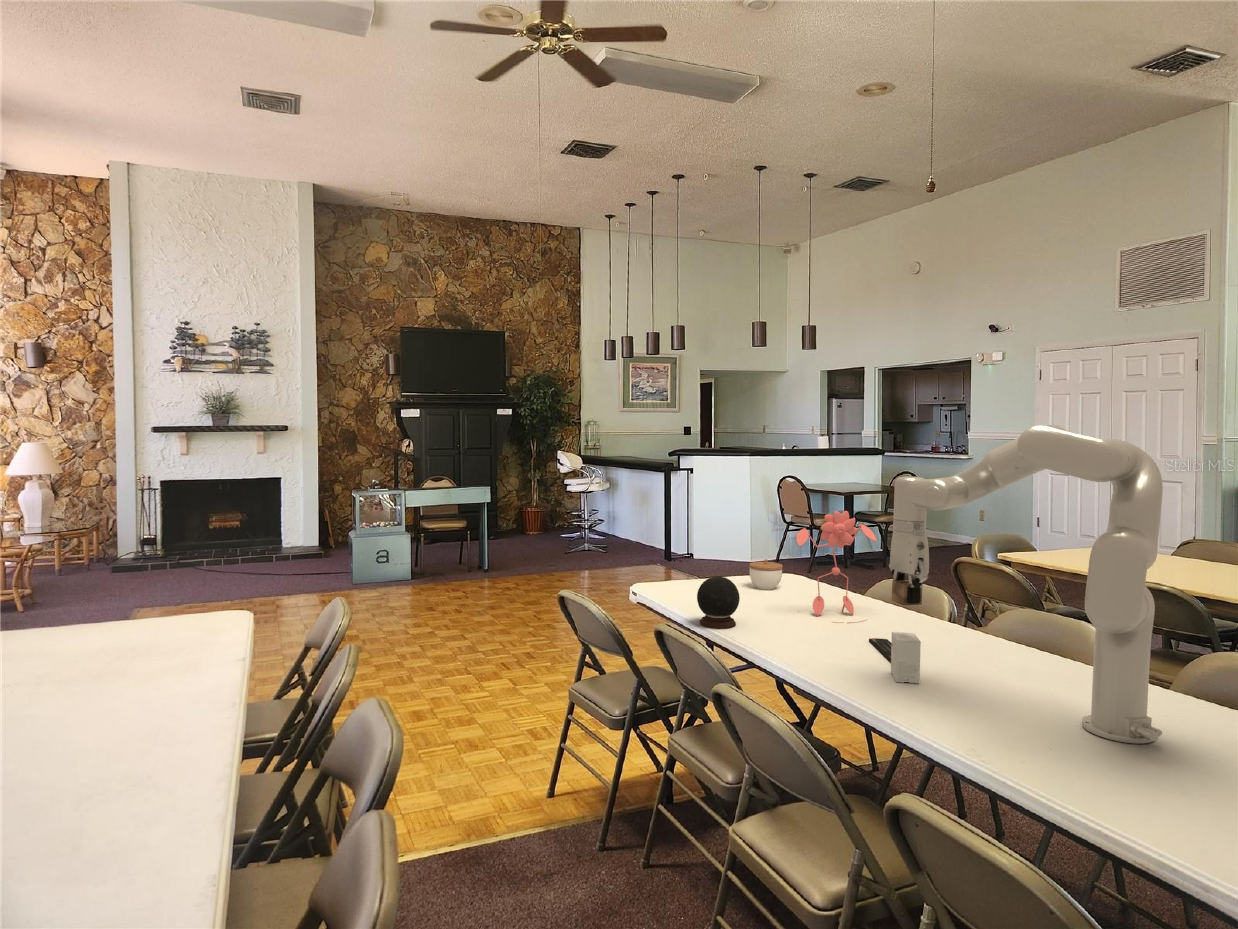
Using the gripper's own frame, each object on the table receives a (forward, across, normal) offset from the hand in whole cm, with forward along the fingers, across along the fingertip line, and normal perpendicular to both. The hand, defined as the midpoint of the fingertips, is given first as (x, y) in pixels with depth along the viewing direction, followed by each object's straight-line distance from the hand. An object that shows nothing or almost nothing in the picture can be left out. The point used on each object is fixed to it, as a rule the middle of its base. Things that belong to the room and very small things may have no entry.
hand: (906, 599), depth 186 cm
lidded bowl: (+20, +104, -8) cm, 106 cm away
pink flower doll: (+20, +58, -13) cm, 62 cm away
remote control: (+20, +19, -8) cm, 29 cm away
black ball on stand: (+20, +56, +28) cm, 66 cm away
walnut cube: (+1, 0, 0) cm, 1 cm away
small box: (+20, 0, 0) cm, 20 cm away
